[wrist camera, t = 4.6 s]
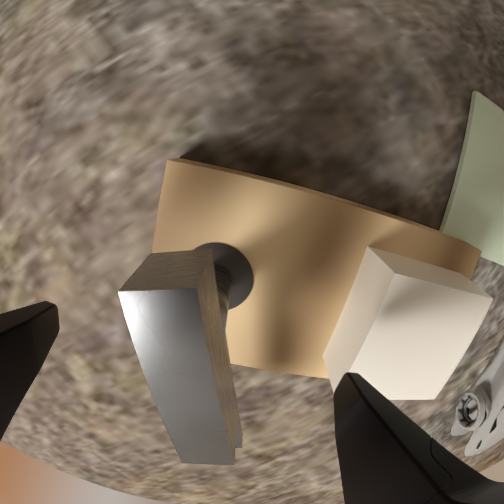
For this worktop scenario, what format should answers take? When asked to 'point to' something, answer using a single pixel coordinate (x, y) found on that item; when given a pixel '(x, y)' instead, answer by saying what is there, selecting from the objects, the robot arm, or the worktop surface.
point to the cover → (404, 326)
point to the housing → (286, 256)
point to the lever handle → (186, 350)
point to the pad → (480, 183)
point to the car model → (483, 407)
